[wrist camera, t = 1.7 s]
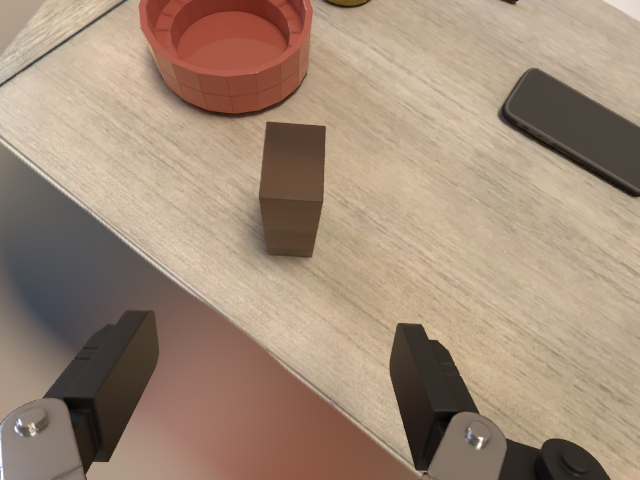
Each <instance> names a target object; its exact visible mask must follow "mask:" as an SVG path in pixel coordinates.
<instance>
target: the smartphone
mask: <svg viewBox="0 0 640 480" xmlns="http://www.w3.org/2000/svg"><path fill="white" fill-rule="evenodd" d="M502 114H503V116H504V117H505V118H506V119H507V120H509V121H510V122H512V123H514V124H515V125H517V126H518V127H520V128H522V129H524V130H525V131H527V132H529V133H530V134H532V135H534V136H535V137H537V138H539V139H540V140H542V141H544V142H545V143H547V144H549V145H551V146H552V147H554V148H556V149H557V150H559V151H561V152H562V153H564V154H566V155H567V156H569V157H571V158H572V159H574V160H576V161H577V162H579V163H581V164H582V165H584V166H586V167H587V168H589V169H591V170H593V171H594V172H596V173H598V174H599V175H601V176H603V177H604V178H606V179H608V180H609V181H611V182H613V183H614V184H616V185H618V186H619V187H621V188H623V189H624V190H626V191H628V192H629V193H631V194H633V195H637V196H640V127H639V126H637V125H636V124H634V123H632V122H630V121H629V120H627V119H625V118H623V117H622V116H620V115H618V114H616V113H615V112H613V111H611V110H610V109H608V108H606V107H604V106H603V105H601V104H599V103H597V102H596V101H594V100H592V99H590V98H589V97H587V96H585V95H583V94H582V93H580V92H578V91H576V90H575V89H573V88H571V87H569V86H568V85H566V84H564V83H563V82H561V81H559V80H557V79H556V78H554V77H552V76H550V75H549V74H547V73H545V72H543V71H542V70H540V69H538V68H531V69H528V70H527V71H526V72H525V73H524V74H523V76H522V77H521V79H520V81H519V82H518V84H517V85H516V87H515V88H514V90H513V92H512V93H511V95H510V96H509V98H508V99H507V101H506V102H505V104H504V106H503V109H502Z"/></svg>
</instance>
